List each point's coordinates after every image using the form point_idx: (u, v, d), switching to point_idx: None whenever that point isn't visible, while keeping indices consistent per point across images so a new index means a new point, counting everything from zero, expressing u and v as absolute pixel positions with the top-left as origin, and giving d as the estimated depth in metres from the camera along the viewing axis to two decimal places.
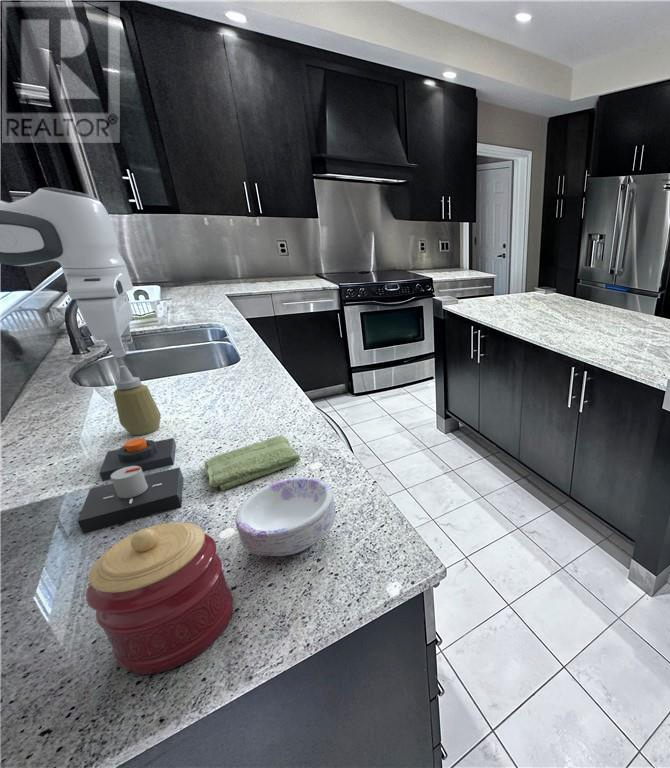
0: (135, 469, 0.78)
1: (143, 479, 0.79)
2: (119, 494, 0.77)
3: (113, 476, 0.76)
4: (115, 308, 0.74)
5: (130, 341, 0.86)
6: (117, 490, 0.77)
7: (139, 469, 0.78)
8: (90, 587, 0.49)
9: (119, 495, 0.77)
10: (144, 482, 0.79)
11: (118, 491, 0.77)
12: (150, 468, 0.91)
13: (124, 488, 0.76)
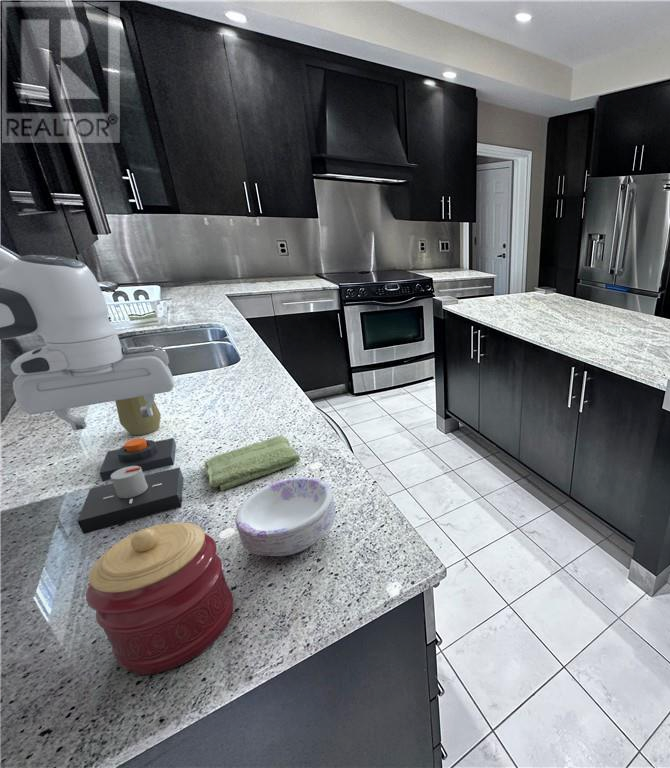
0: (135, 469, 0.78)
1: (143, 479, 0.79)
2: (119, 494, 0.77)
3: (113, 476, 0.76)
4: (16, 386, 0.65)
5: (142, 414, 0.78)
6: (117, 490, 0.77)
7: (139, 469, 0.78)
8: (90, 587, 0.49)
9: (119, 495, 0.77)
10: (144, 482, 0.79)
11: (118, 491, 0.77)
12: (150, 468, 0.91)
13: (124, 488, 0.76)
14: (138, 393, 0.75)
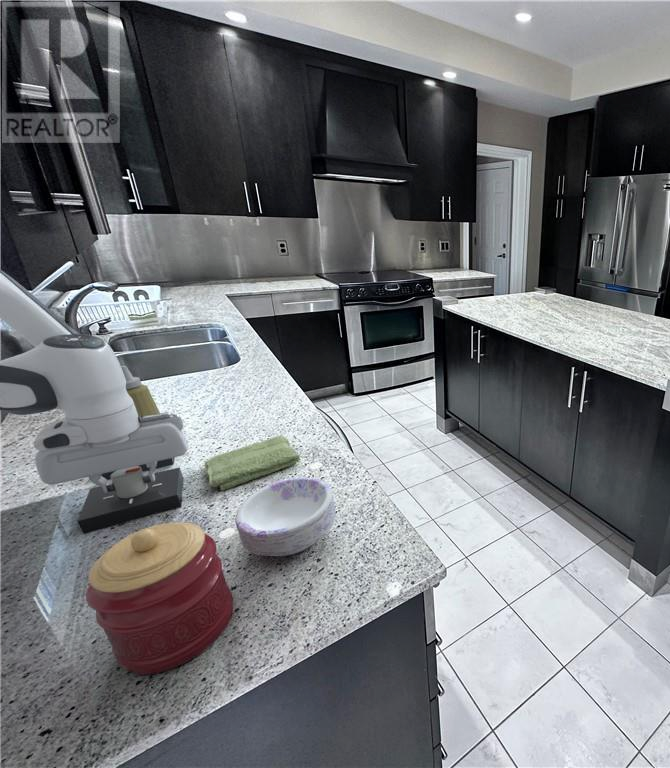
0: (135, 469, 0.78)
1: None
2: (119, 494, 0.77)
3: (113, 476, 0.76)
4: (38, 460, 0.68)
5: (145, 480, 0.79)
6: (117, 490, 0.77)
7: (139, 469, 0.78)
8: (90, 587, 0.49)
9: (119, 495, 0.77)
10: (144, 482, 0.79)
11: (118, 491, 0.77)
12: None
13: (124, 488, 0.76)
14: (153, 459, 0.78)
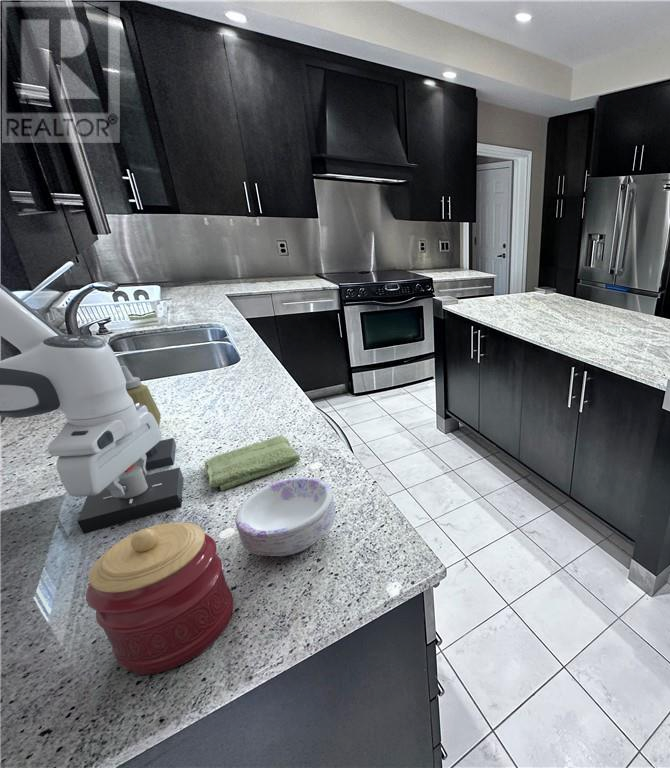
0: (131, 467, 0.79)
1: None
2: (134, 492, 0.78)
3: (123, 477, 0.76)
4: (91, 467, 0.67)
5: None
6: (132, 488, 0.77)
7: (134, 465, 0.79)
8: (90, 587, 0.49)
9: (134, 493, 0.78)
10: None
11: (133, 489, 0.77)
12: (150, 468, 0.91)
13: (140, 483, 0.78)
14: (148, 448, 0.81)
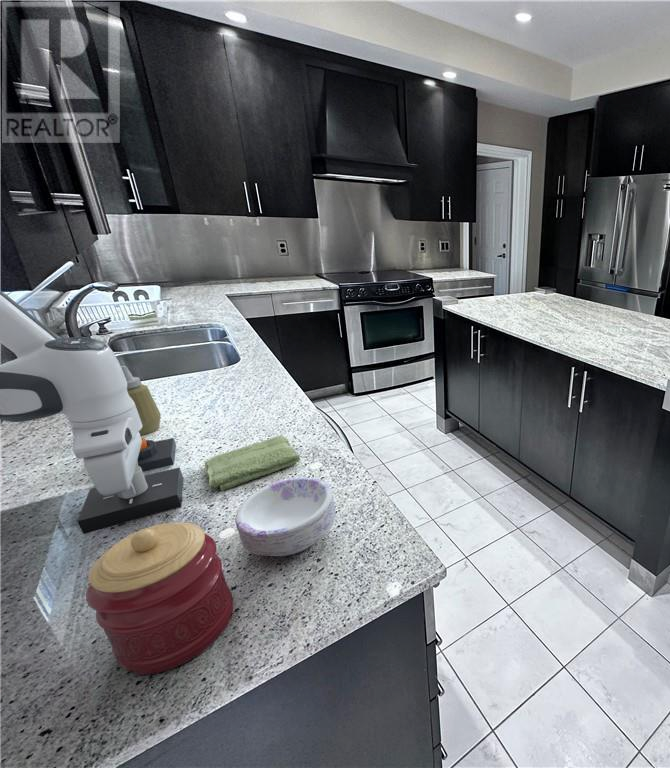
0: None
1: None
2: (140, 490, 0.78)
3: None
4: (124, 462, 0.69)
5: None
6: (137, 486, 0.78)
7: None
8: (90, 587, 0.49)
9: (139, 491, 0.78)
10: None
11: (139, 486, 0.78)
12: (150, 468, 0.91)
13: (143, 480, 0.79)
14: (139, 450, 0.81)
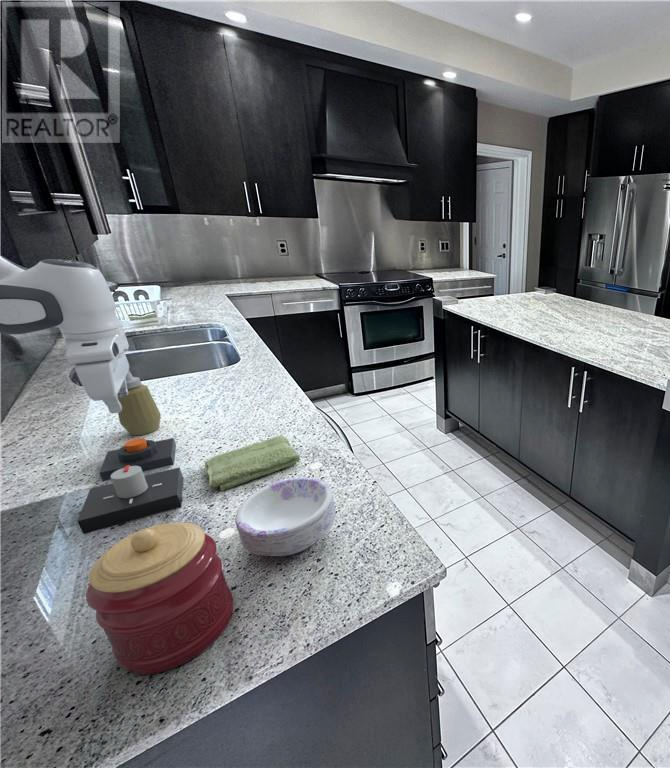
0: (128, 467, 0.79)
1: None
2: (140, 490, 0.78)
3: (128, 475, 0.76)
4: (111, 370, 0.78)
5: (126, 393, 0.90)
6: (137, 486, 0.78)
7: None
8: (90, 587, 0.49)
9: (139, 491, 0.78)
10: None
11: (139, 486, 0.78)
12: (150, 468, 0.91)
13: (143, 480, 0.79)
14: (126, 372, 0.90)
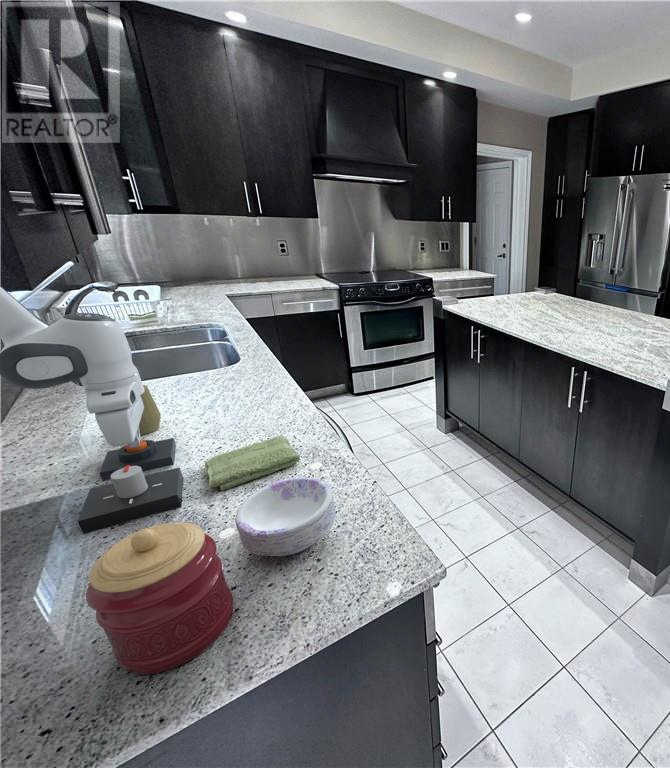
0: (128, 467, 0.79)
1: None
2: (140, 490, 0.78)
3: (128, 475, 0.76)
4: (129, 418, 0.82)
5: (139, 440, 0.92)
6: (137, 486, 0.78)
7: None
8: (90, 587, 0.49)
9: (139, 491, 0.78)
10: None
11: (139, 486, 0.78)
12: (150, 468, 0.91)
13: (143, 480, 0.79)
14: (141, 413, 0.94)
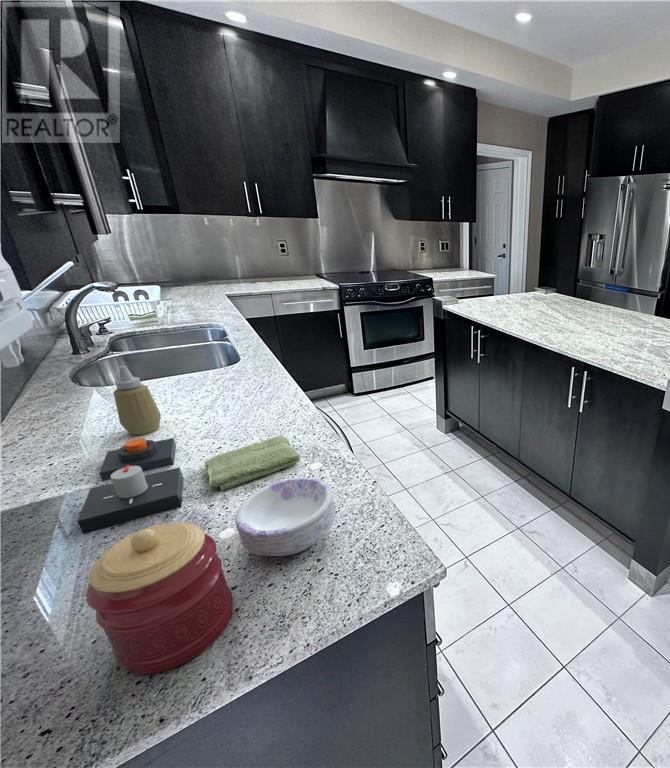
0: (128, 467, 0.79)
1: None
2: (140, 490, 0.78)
3: (128, 475, 0.76)
4: None
5: (19, 360, 0.74)
6: (137, 486, 0.78)
7: None
8: (90, 587, 0.49)
9: (139, 491, 0.78)
10: None
11: (139, 486, 0.78)
12: (150, 468, 0.91)
13: (143, 480, 0.79)
14: (25, 329, 0.76)
